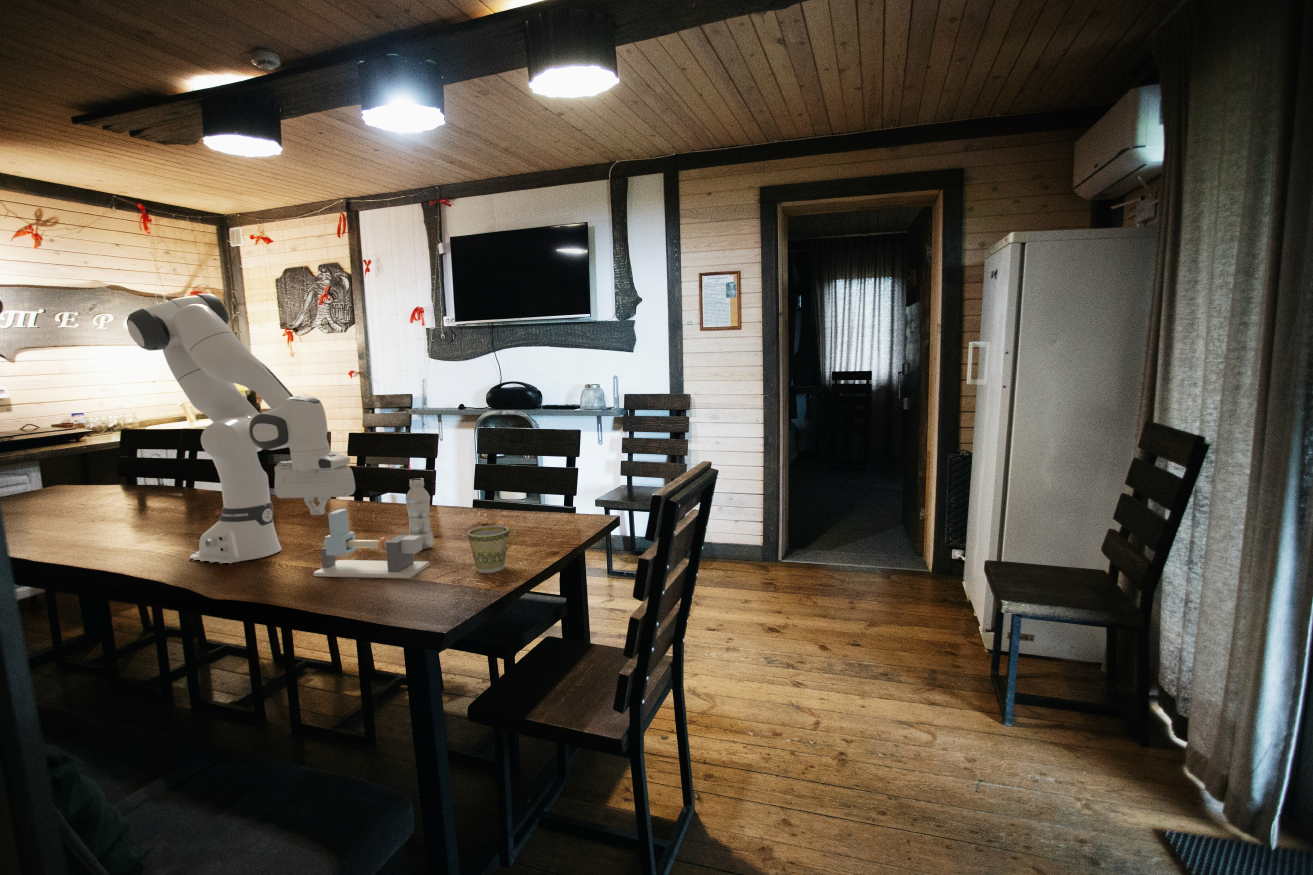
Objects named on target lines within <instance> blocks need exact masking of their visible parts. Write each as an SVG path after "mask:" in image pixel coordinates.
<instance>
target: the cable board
mask: <svg viewBox="0 0 1313 875" xmlns="http://www.w3.org/2000/svg"><path fill="white" fill-rule="evenodd" d="M346 547H347V548H356V549H379V551H380V552H386V560H368V559H367V560H366V559H365V560H362V559H360V560H358V559H357V560H356V559H350V560H349V559H337V560H336V555H326V545H325V540H324V541H323V547H322V548H320V551H321V552H320V554H321V555H320V556H321V563H322V565H321V566H322V567H321V568H320V569H318V570H315V571H313V577H327V578H328V577H329V578H330V577H333V578H334V577H335V578H371V579H372V578H382V579H384V578H385V579H411V578H413V577H414V576H416V575H417V574H418V573H420V572H422V571H423V570H424V569H426V568H428V567H430V561H419V560H417V561H416V560H414V554H415V555H416V554H418V553H419V552H421V551H422V536H412V535H409V534H399V535H396V536H395V537H394V538H392V539H390V537H388V536H382V537H381V538H380V539H355V540H346Z"/></svg>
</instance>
